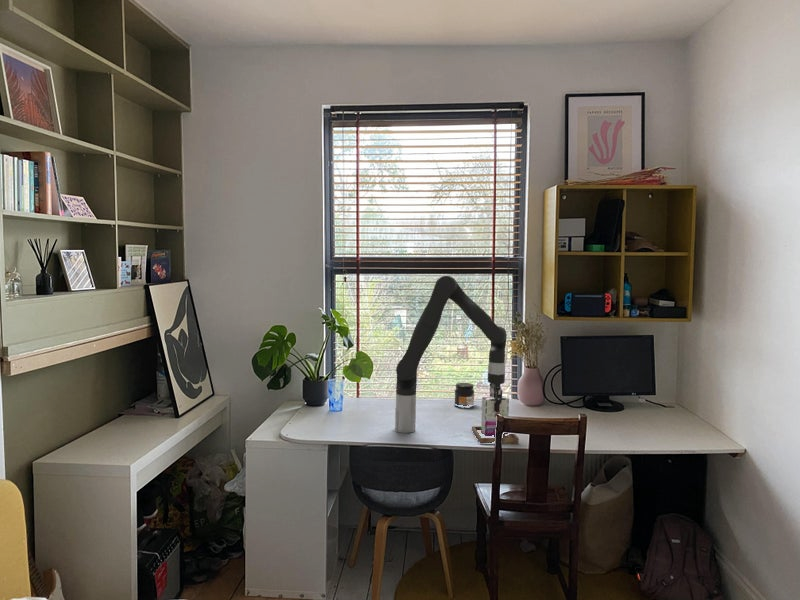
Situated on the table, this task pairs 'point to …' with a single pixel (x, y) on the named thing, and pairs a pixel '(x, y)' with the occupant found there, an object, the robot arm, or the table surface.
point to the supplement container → (464, 394)
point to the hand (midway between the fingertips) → (495, 409)
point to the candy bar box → (492, 414)
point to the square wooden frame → (505, 440)
